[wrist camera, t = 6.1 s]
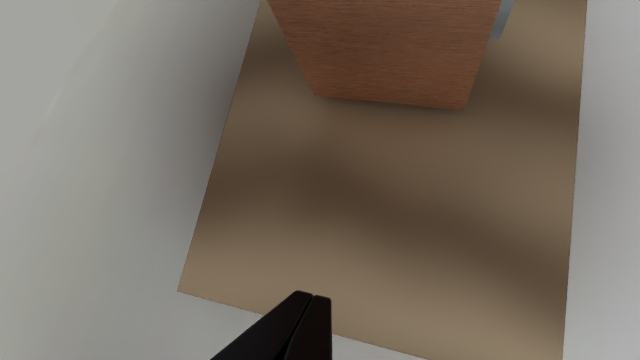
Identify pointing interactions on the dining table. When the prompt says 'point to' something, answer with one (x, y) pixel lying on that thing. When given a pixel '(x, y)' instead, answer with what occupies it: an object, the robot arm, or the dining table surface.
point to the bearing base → (405, 197)
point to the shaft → (389, 47)
